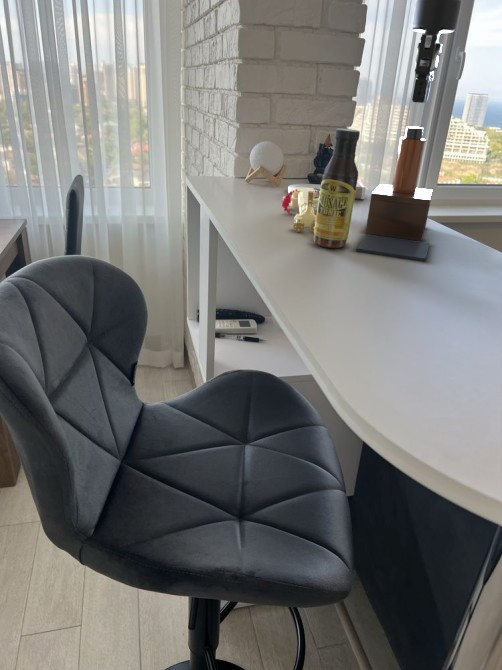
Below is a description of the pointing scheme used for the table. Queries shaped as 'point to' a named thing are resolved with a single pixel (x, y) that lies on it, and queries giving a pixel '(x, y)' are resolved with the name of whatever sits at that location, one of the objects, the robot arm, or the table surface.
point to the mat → (394, 247)
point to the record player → (359, 188)
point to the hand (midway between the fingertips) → (419, 102)
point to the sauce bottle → (337, 192)
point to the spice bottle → (408, 161)
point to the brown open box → (398, 213)
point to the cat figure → (302, 206)
